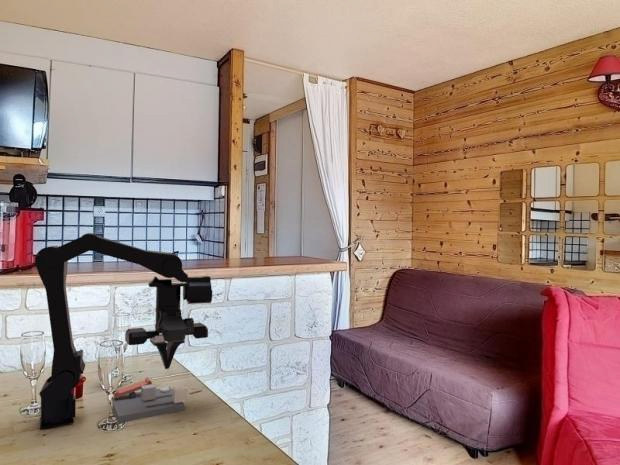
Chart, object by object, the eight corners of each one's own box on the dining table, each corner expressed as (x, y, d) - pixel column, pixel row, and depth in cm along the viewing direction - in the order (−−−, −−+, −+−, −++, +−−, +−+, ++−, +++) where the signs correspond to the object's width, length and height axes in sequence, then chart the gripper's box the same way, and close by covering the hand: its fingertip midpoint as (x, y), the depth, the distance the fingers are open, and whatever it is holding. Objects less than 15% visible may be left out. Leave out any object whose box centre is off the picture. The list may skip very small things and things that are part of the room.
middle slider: (142, 401, 113) (143, 388, 113) (140, 397, 115) (141, 385, 115) (155, 399, 114) (155, 386, 114) (153, 395, 116) (153, 384, 116)
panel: (118, 422, 104) (118, 411, 104) (109, 402, 116) (109, 391, 116) (184, 410, 112) (184, 399, 112) (169, 392, 124) (170, 382, 124)
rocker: (115, 398, 113) (114, 393, 113) (113, 394, 115) (112, 389, 115) (152, 385, 117) (151, 380, 117) (149, 381, 120) (148, 377, 120)
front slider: (174, 403, 112) (174, 391, 112) (172, 400, 114) (172, 388, 114) (186, 401, 113) (187, 389, 113) (184, 398, 115) (184, 386, 115)
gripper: (134, 312, 101) (132, 384, 101) (216, 307, 110) (214, 372, 110) (125, 305, 110) (124, 370, 110) (201, 300, 120) (200, 360, 120)
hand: (166, 368), depth 112 cm, fingers closed
